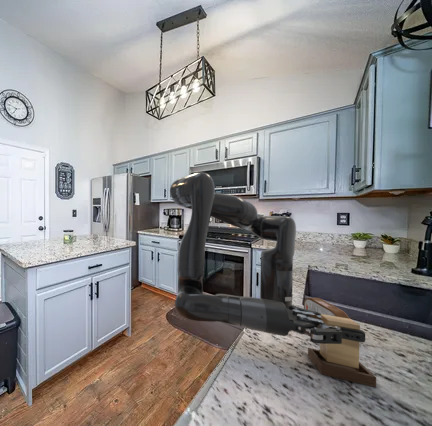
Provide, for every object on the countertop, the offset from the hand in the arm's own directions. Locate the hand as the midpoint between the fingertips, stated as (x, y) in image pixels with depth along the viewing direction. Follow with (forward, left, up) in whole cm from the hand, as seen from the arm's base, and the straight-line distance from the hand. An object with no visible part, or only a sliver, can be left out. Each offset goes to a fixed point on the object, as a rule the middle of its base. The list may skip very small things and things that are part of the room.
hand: (357, 331), depth 44 cm
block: (0, -3, -7) cm, 8 cm away
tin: (-19, +3, -9) cm, 21 cm away
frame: (0, -3, -9) cm, 9 cm away
